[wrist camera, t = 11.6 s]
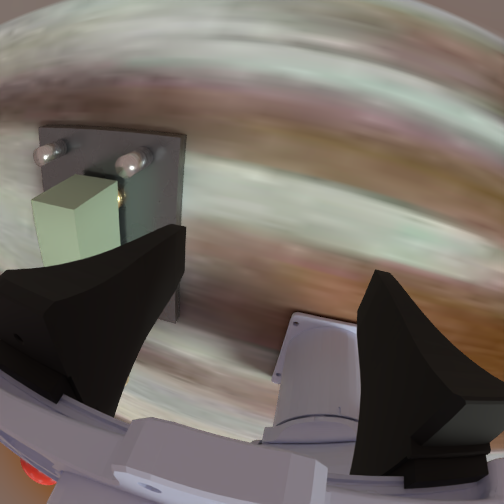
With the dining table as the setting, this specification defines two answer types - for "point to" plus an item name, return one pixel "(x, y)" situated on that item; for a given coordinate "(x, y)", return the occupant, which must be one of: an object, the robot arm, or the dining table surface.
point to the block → (77, 219)
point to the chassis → (122, 175)
